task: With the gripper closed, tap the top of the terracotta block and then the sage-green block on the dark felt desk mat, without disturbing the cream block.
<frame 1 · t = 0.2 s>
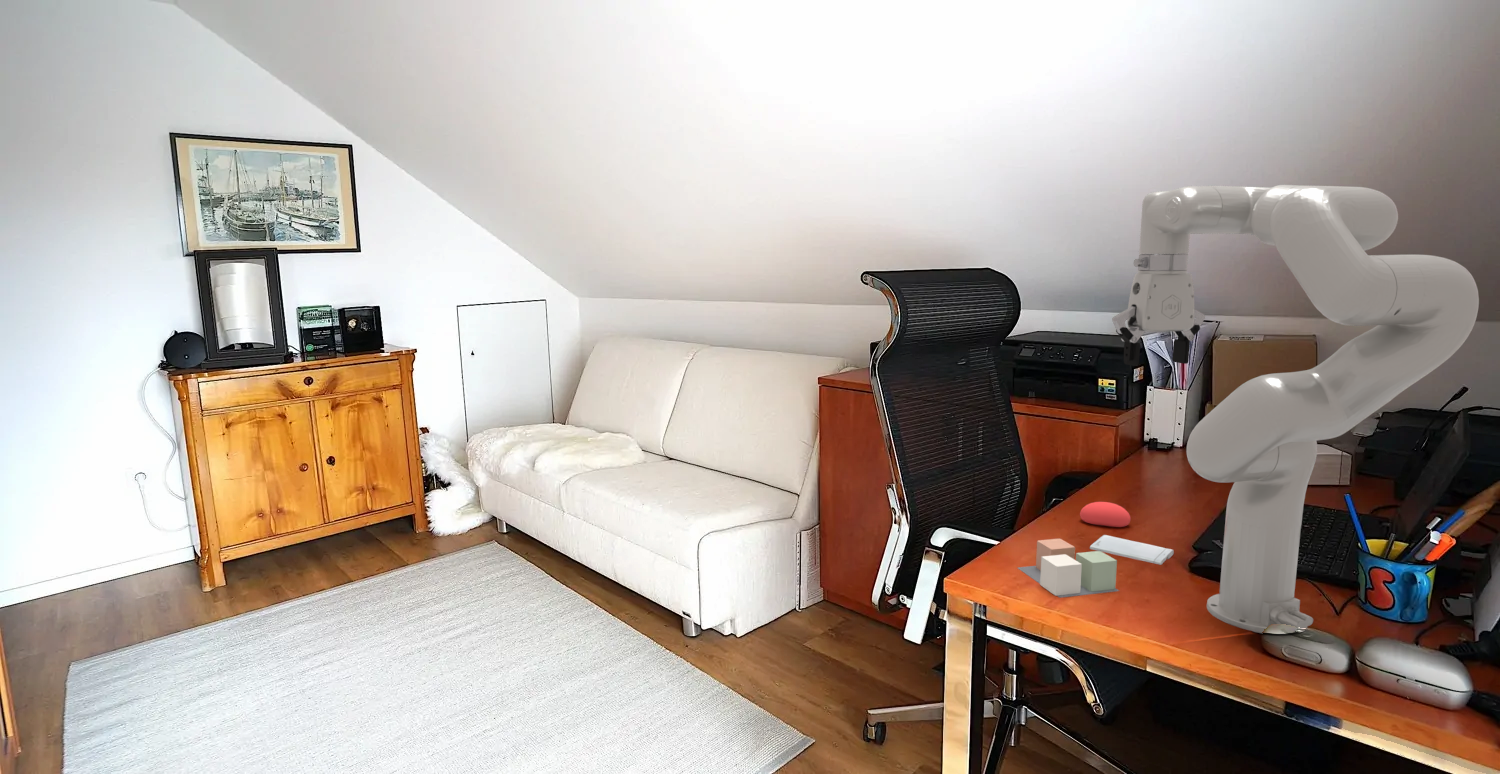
hand: (1155, 363, 138), 36 cm above the table, fingers open, 9 cm apart
hard drive: (1130, 556, 148), on the table
felt mat: (1066, 580, 135), on the table
block terracotta: (1054, 571, 139), resting on felt mat
block cream: (1059, 588, 131), resting on felt mat
stress ball: (1103, 526, 163), on the table
block sage: (1094, 585, 132), resting on felt mat
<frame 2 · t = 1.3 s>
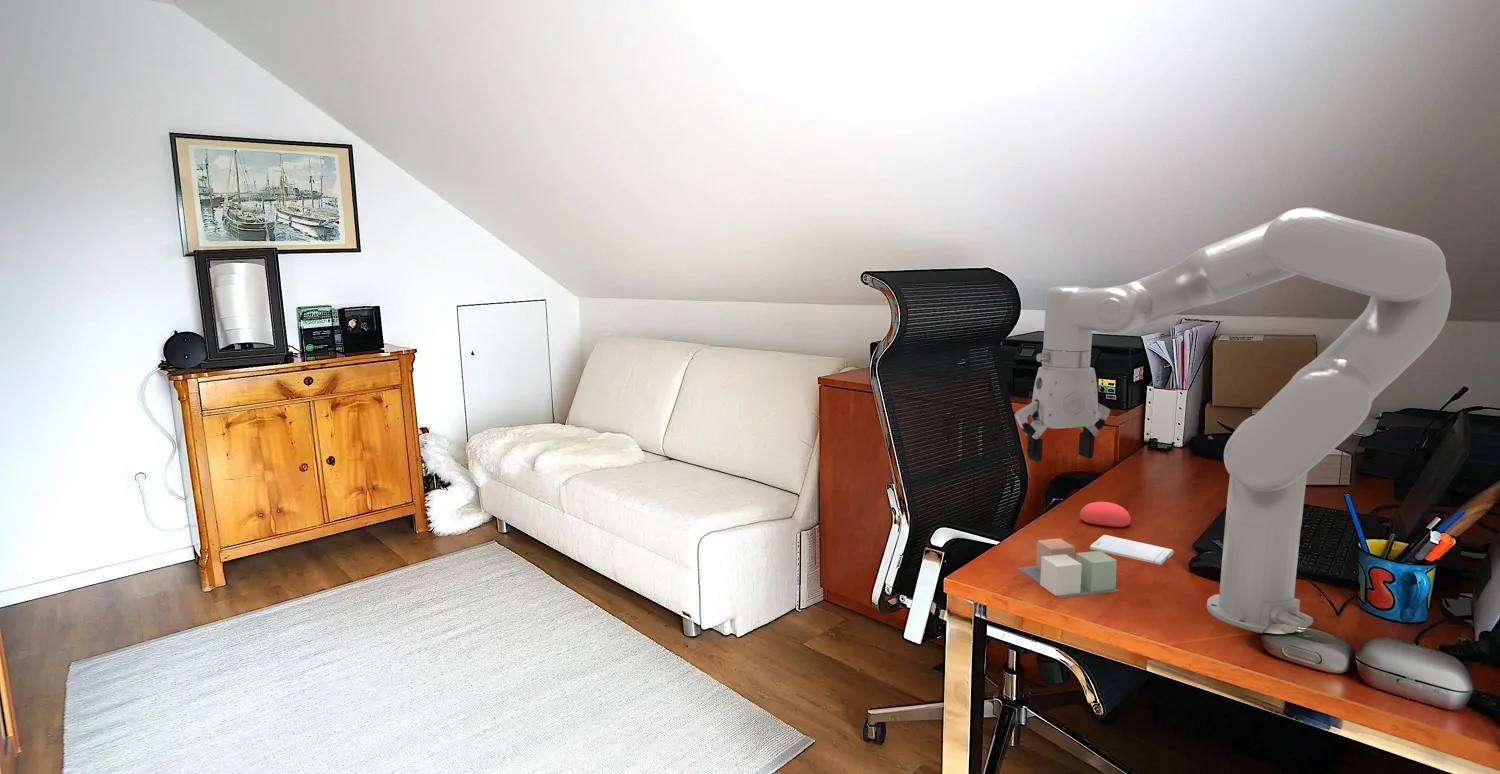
hand: (1060, 458, 136), 21 cm above the table, fingers open, 9 cm apart
nothing on the table moved.
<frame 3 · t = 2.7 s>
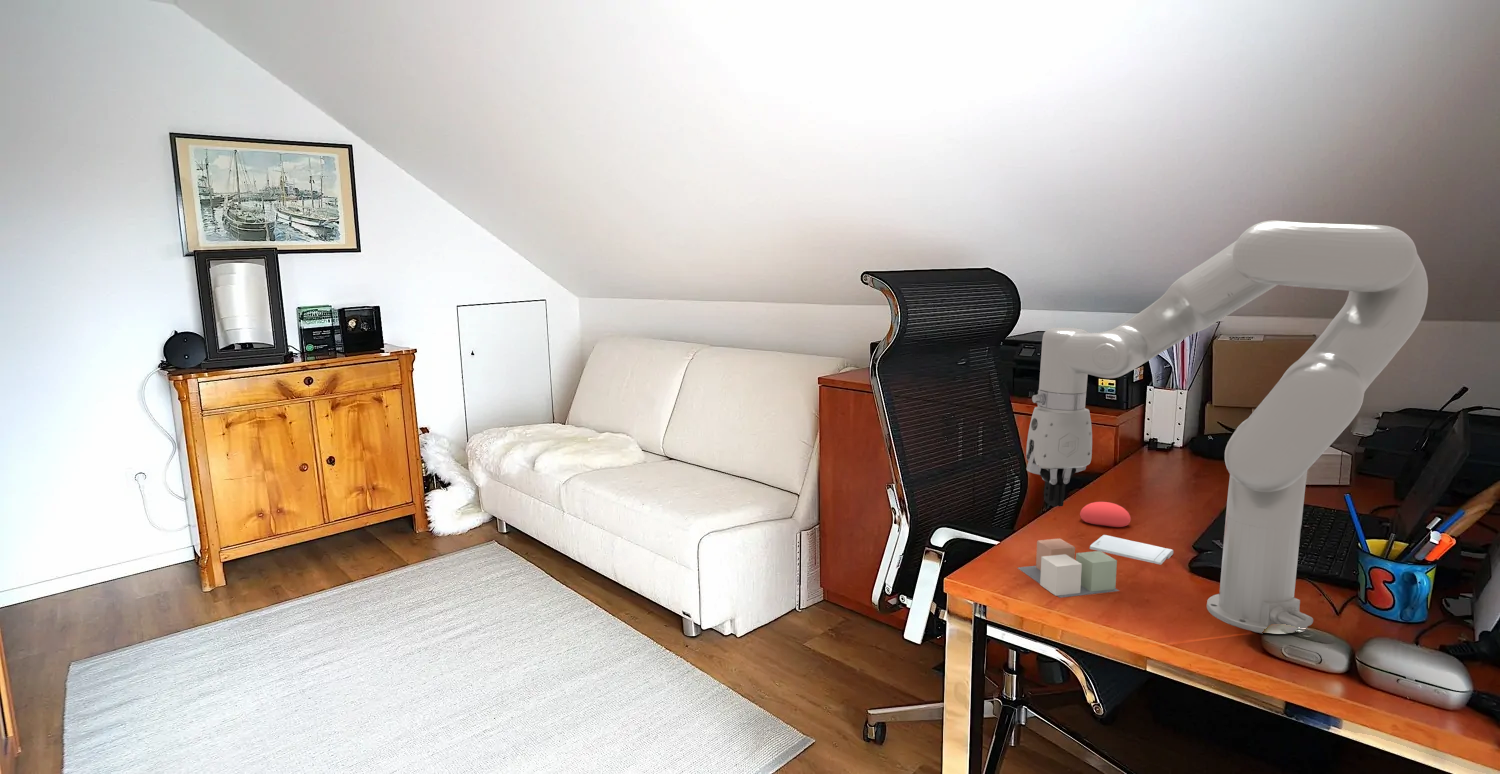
hand: (1053, 503, 137), 13 cm above the table, fingers closed
nothing on the table moved.
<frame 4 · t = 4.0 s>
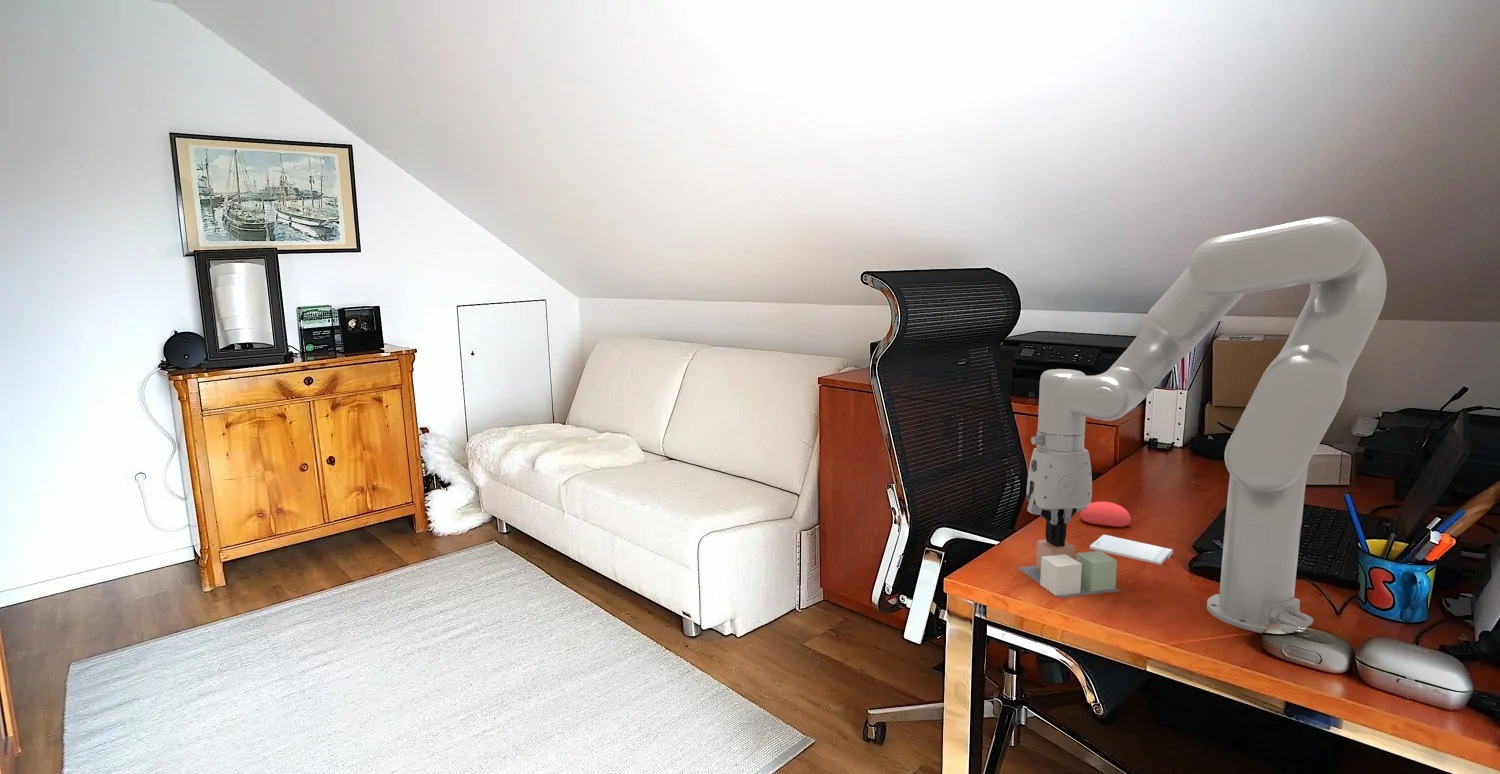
hand: (1055, 543, 138), 5 cm above the table, fingers closed
block terracotta: (1054, 571, 139), resting on felt mat, touching gripper
everything else where it was.
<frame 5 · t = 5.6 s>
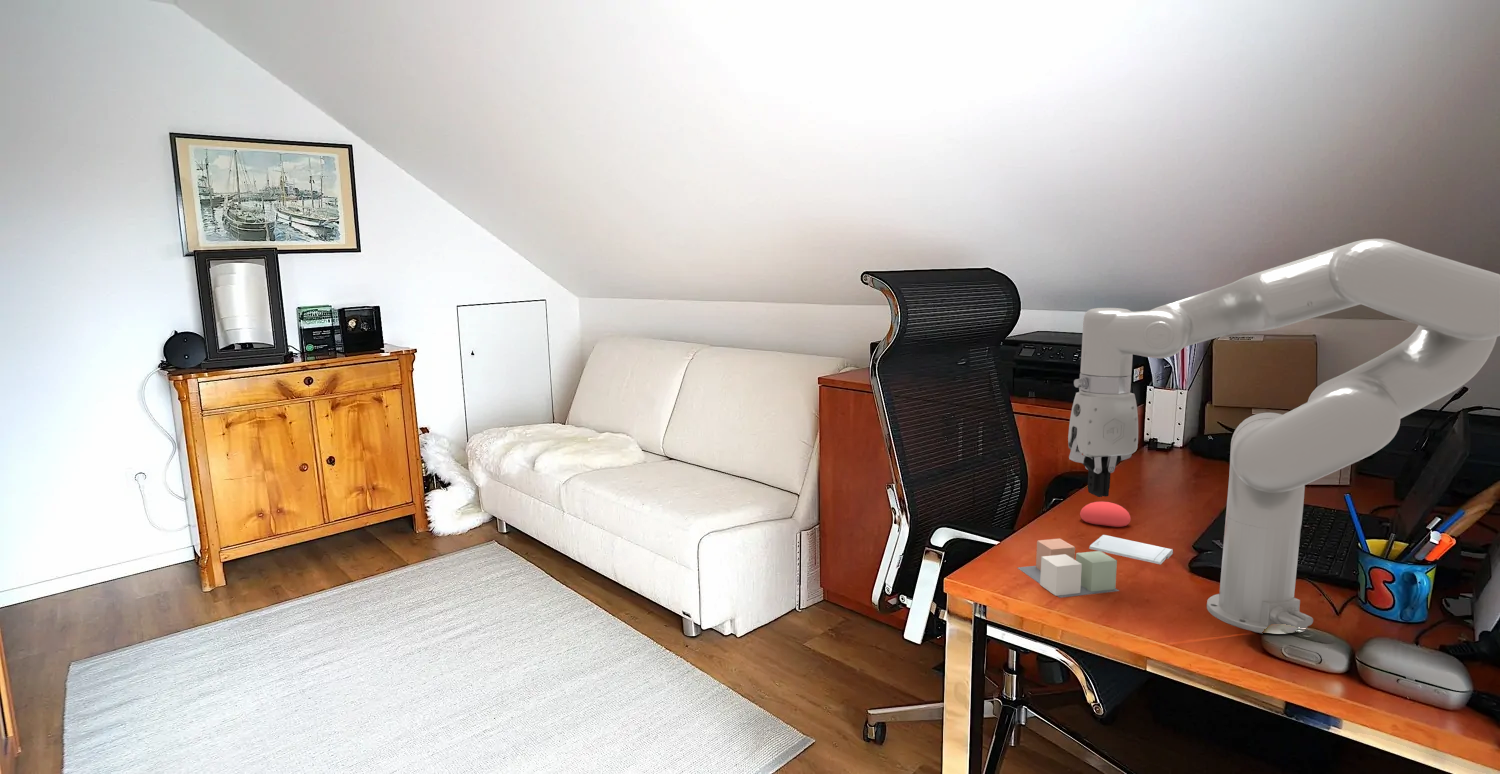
hand: (1098, 494, 130), 16 cm above the table, fingers closed
block terracotta: (1054, 571, 139), resting on felt mat
everything else where it was.
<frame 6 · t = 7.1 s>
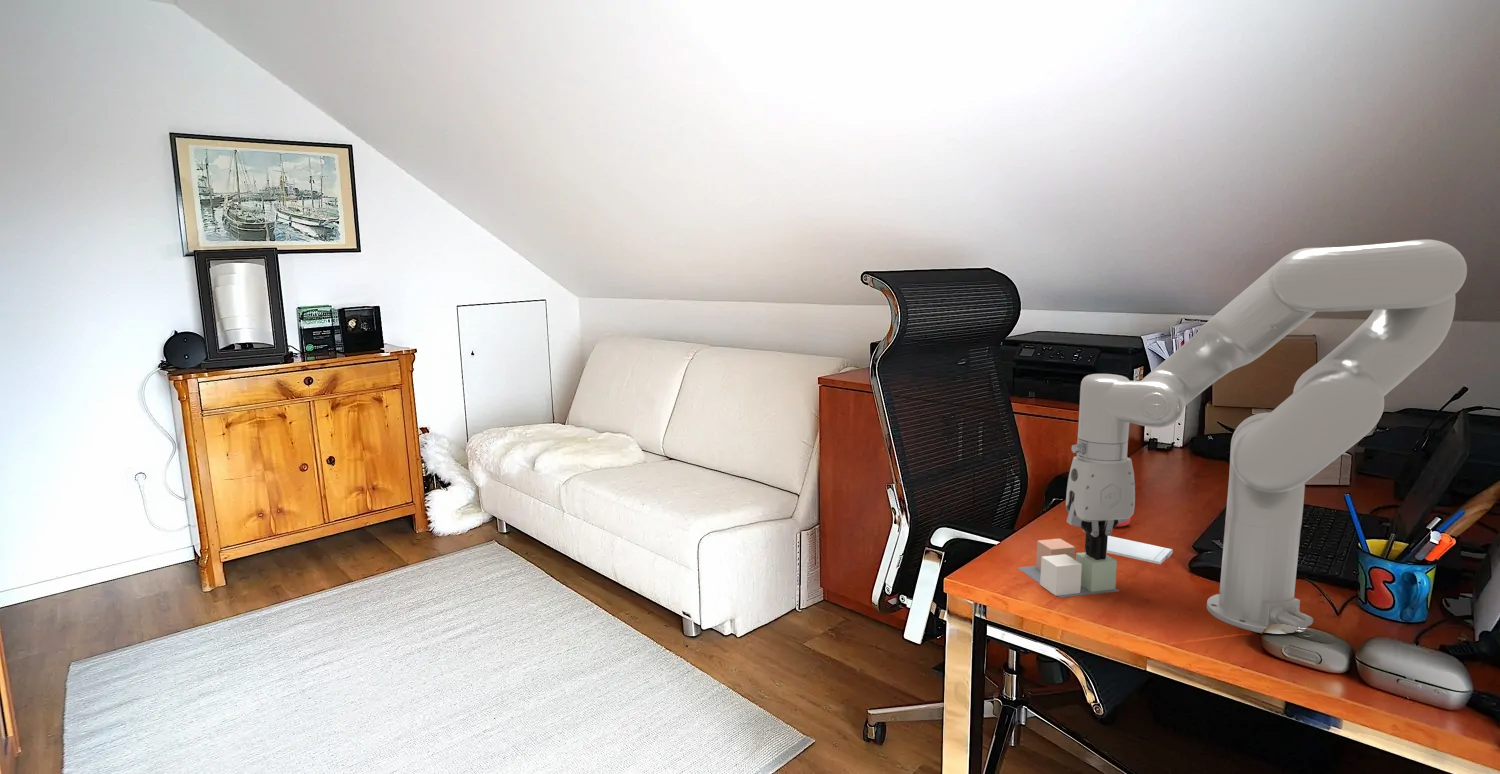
hand: (1095, 556, 132), 5 cm above the table, fingers closed
block sage: (1094, 585, 132), resting on felt mat, touching gripper
everything else where it was.
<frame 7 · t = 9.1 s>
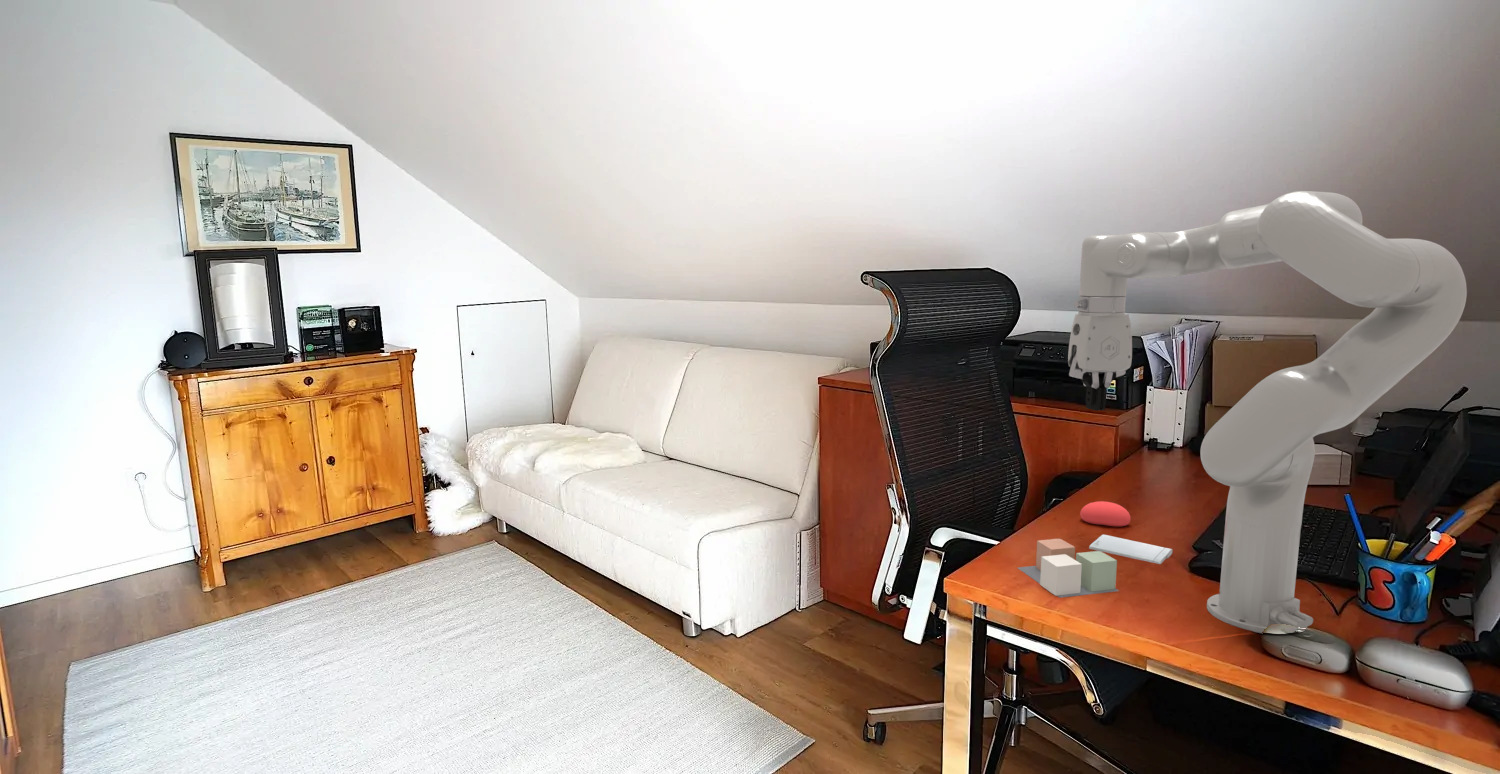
hand: (1095, 408, 141), 28 cm above the table, fingers closed
block sage: (1094, 585, 132), resting on felt mat
everything else where it was.
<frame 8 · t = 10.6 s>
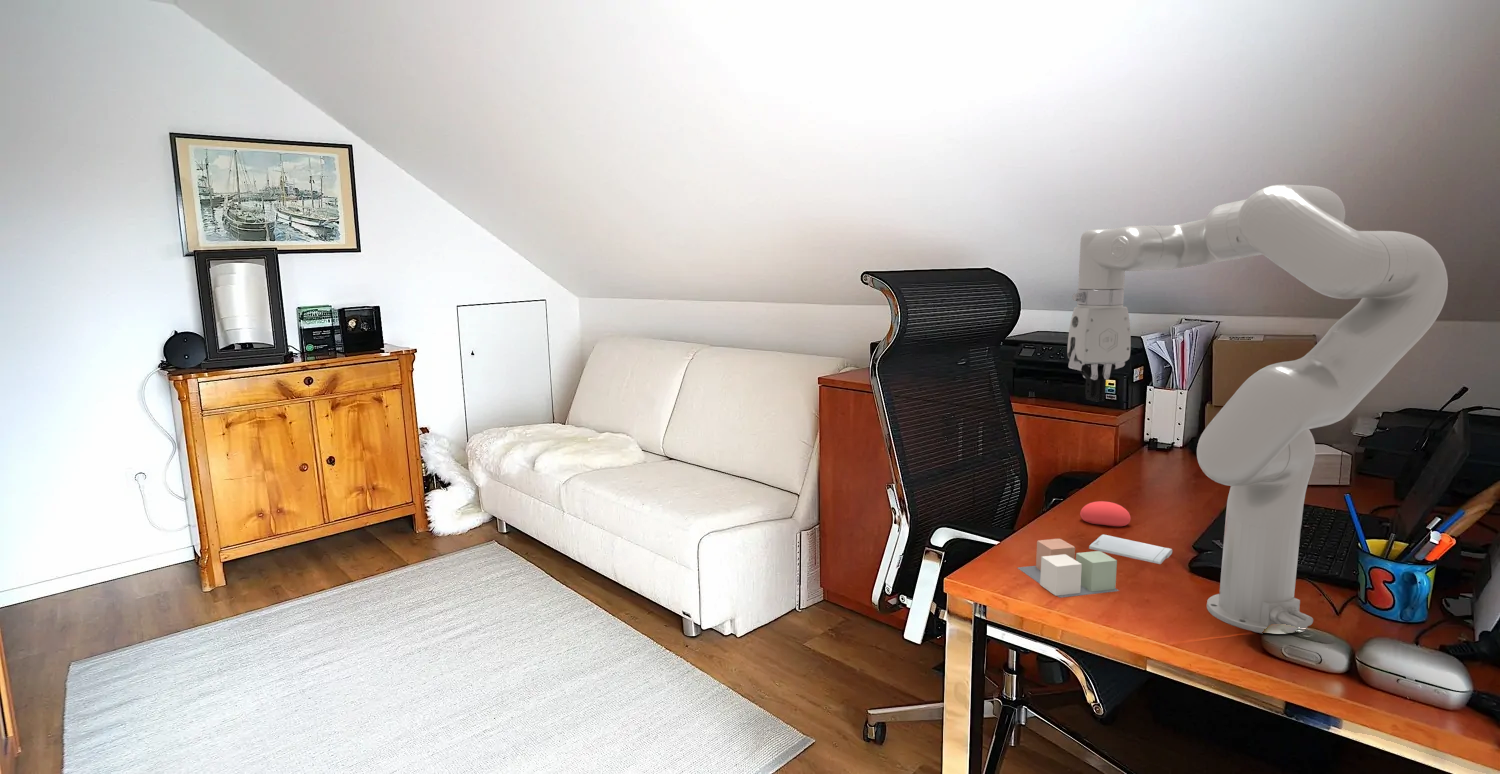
hand: (1094, 400, 144), 29 cm above the table, fingers closed
nothing on the table moved.
at the end: block terracotta moved 0.0 cm from its start; block sage moved 0.0 cm from its start; block cream moved 0.0 cm from its start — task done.
